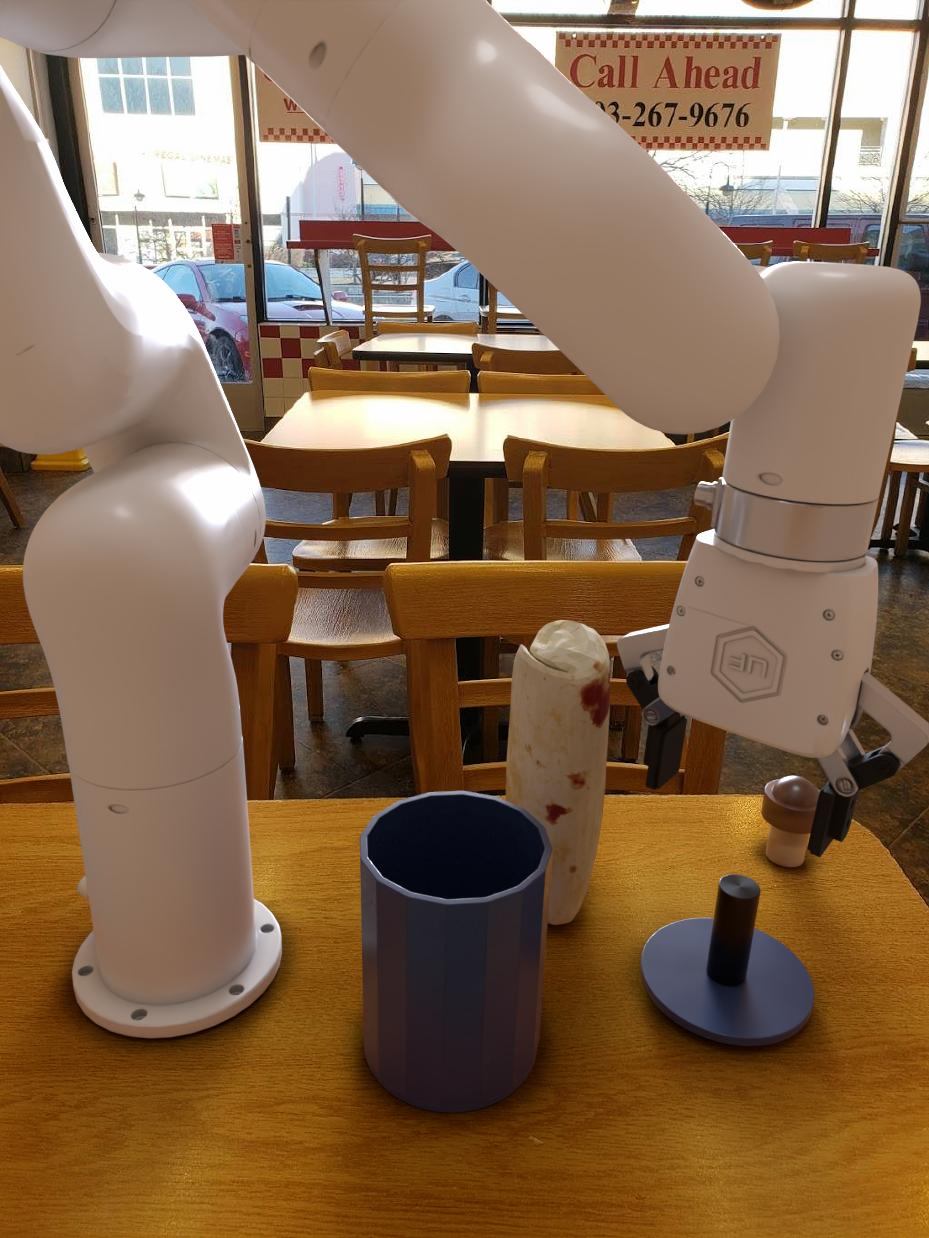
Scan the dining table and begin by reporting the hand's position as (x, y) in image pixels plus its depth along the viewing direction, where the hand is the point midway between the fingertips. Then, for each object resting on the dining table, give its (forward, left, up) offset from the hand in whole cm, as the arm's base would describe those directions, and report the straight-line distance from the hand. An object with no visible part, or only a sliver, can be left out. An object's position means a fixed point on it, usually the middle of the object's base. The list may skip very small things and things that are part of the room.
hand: (738, 810), depth 54 cm
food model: (-13, +1, -13) cm, 19 cm away
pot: (-10, -14, -13) cm, 21 cm away
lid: (+1, 0, -12) cm, 12 cm away
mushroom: (-1, +17, -13) cm, 21 cm away
